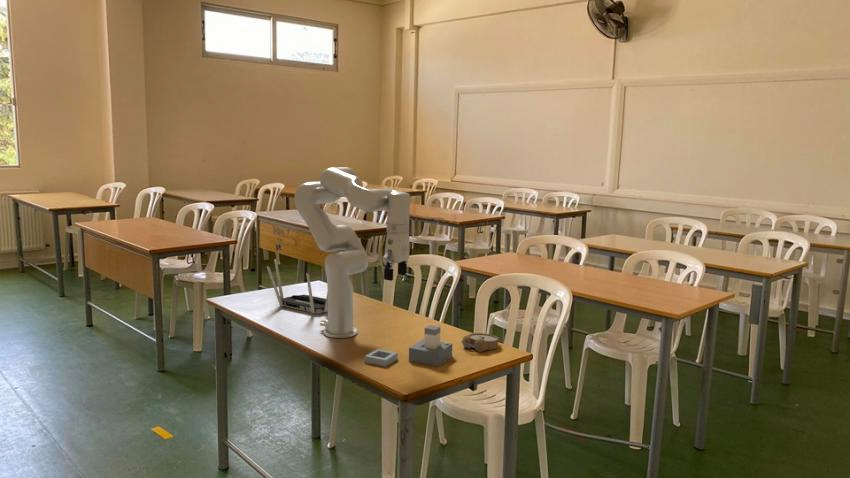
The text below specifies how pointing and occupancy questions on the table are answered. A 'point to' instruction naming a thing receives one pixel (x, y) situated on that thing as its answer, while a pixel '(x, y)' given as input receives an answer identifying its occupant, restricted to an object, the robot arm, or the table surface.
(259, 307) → the table surface
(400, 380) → the table surface
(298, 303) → the wireless router
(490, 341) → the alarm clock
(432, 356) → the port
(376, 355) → the light grey square frame
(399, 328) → the table surface
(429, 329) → the plug
